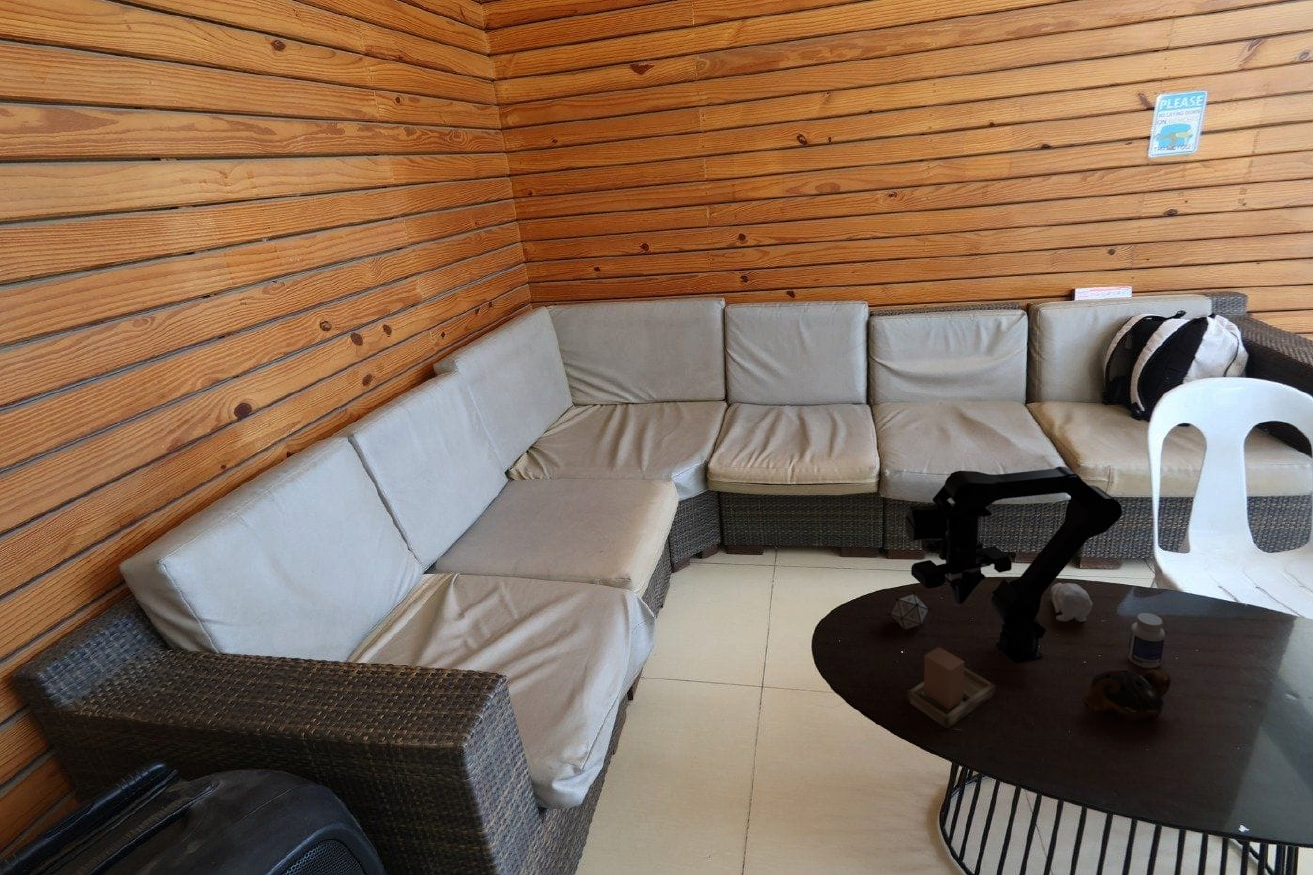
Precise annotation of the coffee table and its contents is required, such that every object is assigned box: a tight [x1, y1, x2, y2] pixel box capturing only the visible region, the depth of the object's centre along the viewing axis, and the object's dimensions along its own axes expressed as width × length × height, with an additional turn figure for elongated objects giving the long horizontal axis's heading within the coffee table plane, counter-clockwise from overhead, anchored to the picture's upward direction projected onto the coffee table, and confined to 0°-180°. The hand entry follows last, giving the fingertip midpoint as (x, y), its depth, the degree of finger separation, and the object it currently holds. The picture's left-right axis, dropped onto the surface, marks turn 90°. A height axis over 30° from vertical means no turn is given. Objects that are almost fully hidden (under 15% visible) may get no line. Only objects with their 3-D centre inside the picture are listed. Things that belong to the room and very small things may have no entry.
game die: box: [886, 590, 933, 634], centre depth 150 cm, size 9×8×10 cm
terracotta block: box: [923, 646, 966, 710], centre depth 127 cm, size 4×6×9 cm
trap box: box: [906, 666, 996, 729], centre depth 130 cm, size 14×9×2 cm, turn 121°
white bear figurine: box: [1049, 582, 1093, 623], centre depth 149 cm, size 6×8×12 cm
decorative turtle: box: [1081, 668, 1172, 725], centre depth 121 cm, size 10×15×8 cm, turn 100°
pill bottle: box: [1127, 612, 1166, 669], centre depth 132 cm, size 5×5×10 cm
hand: (959, 602), depth 137 cm, fingers closed
